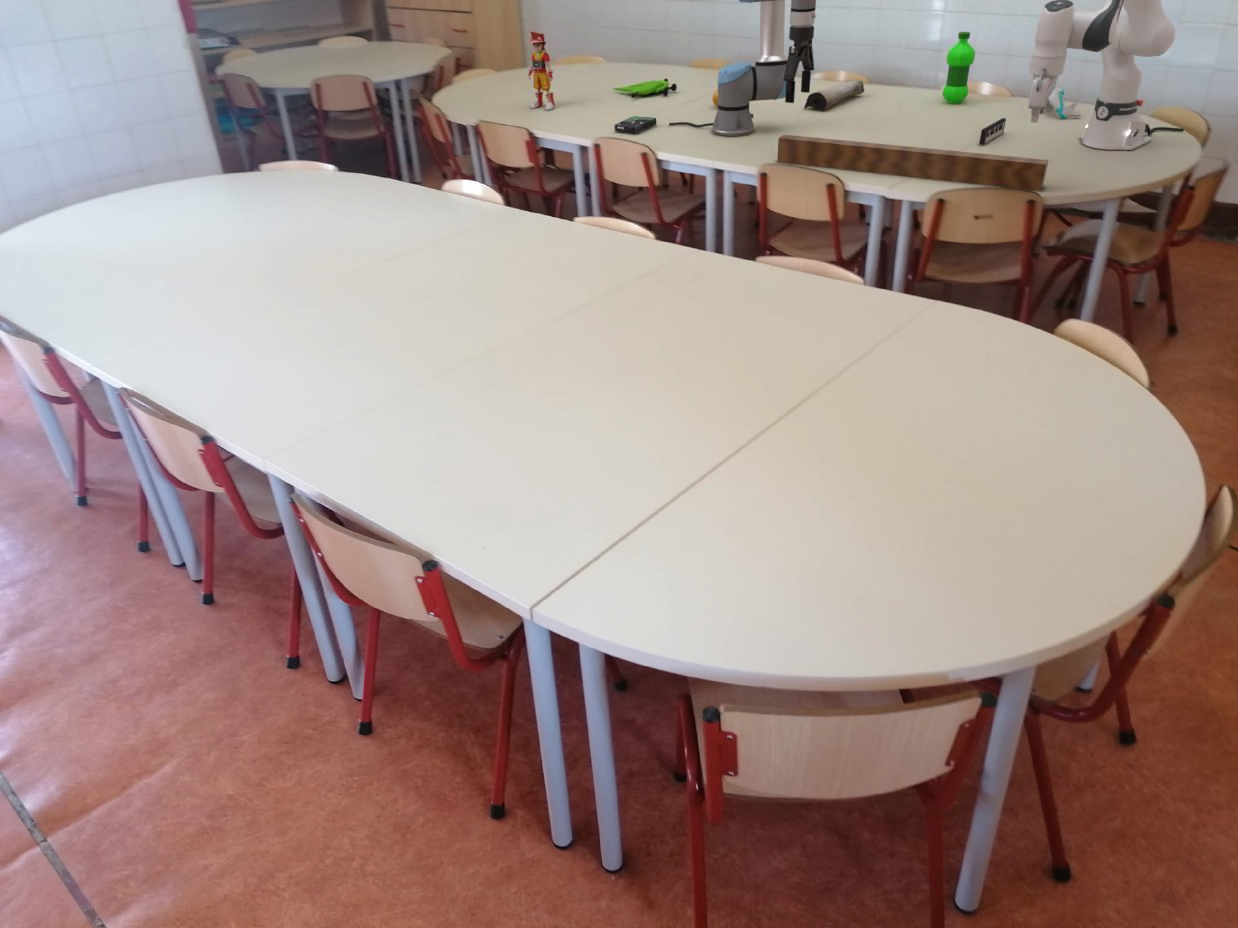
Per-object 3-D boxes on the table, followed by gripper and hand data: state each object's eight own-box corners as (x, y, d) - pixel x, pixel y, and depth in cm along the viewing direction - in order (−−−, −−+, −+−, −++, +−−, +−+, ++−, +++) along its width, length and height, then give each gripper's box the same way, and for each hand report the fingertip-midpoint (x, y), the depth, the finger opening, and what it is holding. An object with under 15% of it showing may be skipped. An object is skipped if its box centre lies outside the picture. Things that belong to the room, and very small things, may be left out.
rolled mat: (839, 85, 375) (856, 69, 367) (851, 103, 375) (868, 87, 367) (800, 103, 358) (817, 87, 350) (813, 122, 358) (830, 107, 350)
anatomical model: (1037, 86, 333) (1064, 79, 332) (1036, 115, 339) (1062, 107, 338) (1056, 96, 321) (1084, 88, 320) (1055, 125, 327) (1082, 118, 326)
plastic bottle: (973, 101, 354) (984, 32, 339) (955, 106, 349) (966, 36, 335) (952, 97, 361) (962, 29, 346) (934, 102, 356) (944, 33, 342)
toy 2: (686, 85, 398) (631, 84, 414) (685, 72, 395) (629, 72, 411) (651, 104, 381) (596, 103, 397) (650, 92, 378) (594, 91, 394)
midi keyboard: (982, 145, 305) (985, 130, 303) (979, 144, 306) (981, 129, 303) (1003, 133, 316) (1006, 118, 313) (999, 132, 317) (1002, 118, 314)
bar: (777, 162, 302) (778, 138, 298) (782, 158, 305) (783, 134, 301) (1040, 191, 266) (1046, 164, 261) (1042, 186, 269) (1048, 160, 264)
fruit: (706, 100, 364) (717, 82, 360) (712, 103, 371) (722, 85, 368) (723, 111, 362) (734, 93, 359) (728, 114, 370) (739, 96, 367)
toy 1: (525, 109, 381) (517, 32, 364) (534, 104, 388) (527, 28, 371) (550, 110, 377) (543, 32, 360) (559, 105, 384) (553, 28, 367)
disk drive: (637, 135, 339) (656, 124, 349) (637, 127, 338) (656, 117, 348) (614, 132, 344) (634, 122, 354) (613, 125, 343) (633, 115, 353)
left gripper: (798, 34, 267) (794, 108, 280) (827, 18, 284) (822, 89, 297) (775, 33, 271) (771, 106, 283) (805, 17, 288) (800, 87, 300)
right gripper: (1052, 75, 241) (1042, 128, 249) (1065, 58, 255) (1054, 109, 263) (1027, 74, 244) (1018, 126, 252) (1041, 58, 258) (1032, 108, 266)
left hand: (797, 97), depth 290 cm, fingers open, 13 cm apart
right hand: (1037, 117), depth 258 cm, fingers open, 8 cm apart
